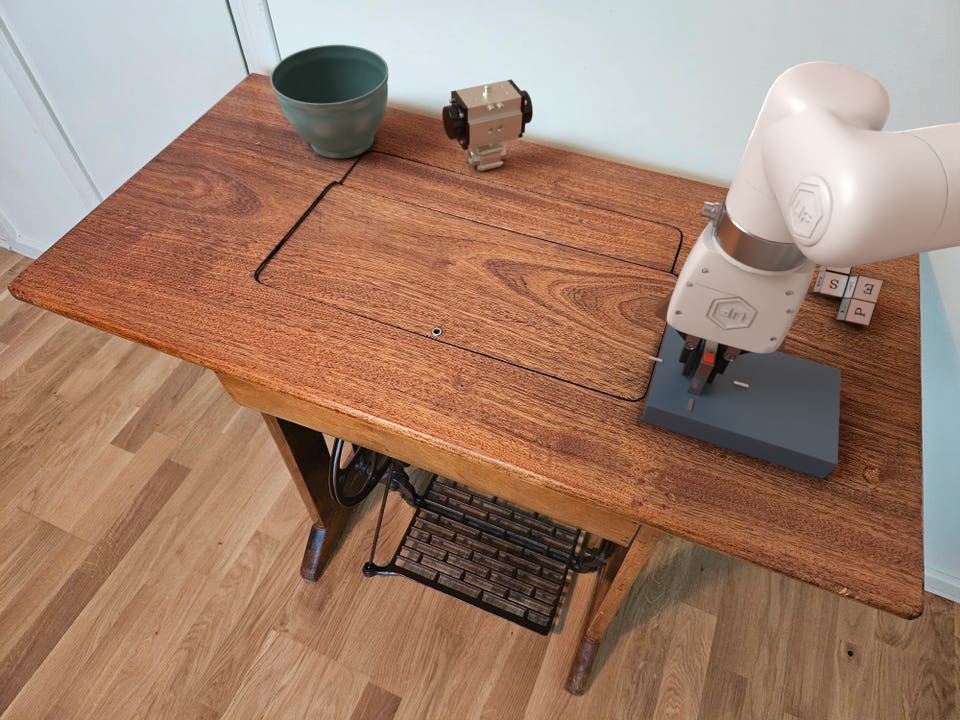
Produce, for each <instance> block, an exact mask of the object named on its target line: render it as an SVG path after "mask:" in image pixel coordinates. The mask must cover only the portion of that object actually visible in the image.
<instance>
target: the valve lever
mask: <svg viewBox="0 0 960 720" xmlns="http://www.w3.org/2000/svg"><path fill="white" fill-rule="evenodd" d="M717 348H718V342H714V341H711V340H707V339H704V338H703V340H702V345H701V349H700V354H699V356H698V358H697V361H696V363H695V365H694V367H693V369H692V371H691V376H690V380H689V385H688V389H687V392H688V393H692V394H695V395H699V394H700V392H701V390H702V388H703V386H704V384H705V382H706V380H707V378H708V376H709V375H710V373H711V371H712V369H713V367H714V363H715V358H716V353H717Z"/></svg>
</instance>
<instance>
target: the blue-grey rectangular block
mask: <svg viewBox="0 0 960 720" xmlns="http://www.w3.org/2000/svg"><path fill="white" fill-rule="evenodd" d="M684 342H685V341H684V340H683V339H682V337H681V336H680V335H679V334H678V332H677V331H676V330H675V329H674V328H673V327H671V326H670V325H669V324H668V323H667V327H666V330H665V332H664V335H663V337H662V341H661V344H660V348H659V352H658V356H657V357H655V356H651V355H649V356H648V360H650V361H654V362H656V364H655V366H654V370H653V374H652V378H651V382H650V386H649V389H648V393H647V397H646V401H645V404H644V407H643V412H642V416H641V419H640V421H641V422H642V423H646V424H648V425H652V426H655V427H659V428H661V429H664V430H668V431H671V432H674V433H678V434H680V435H684V436H687V437H690V438H692V439H695V440H699V441H702V442H705V443H709V444H712V445H716V446H718V447H721V448H724V449H728V450H731V451H734V452H737V453H741V454H743V455H747V456H750V457H753V458H756V459H760V460H762V461H766V462H768V463H772V464H775V465H778V466H782V467H785V468H788V469H791V470H794V471H797V472H800V473H803V474H807V475H808V476H809V475H810V476H813V477H815V478H816V477H817V478H819V479H822V480H824V479H825V478H826V477H827V476H828V475H829V474H830V473H831V472H832V471H833V470H834V469H835V468H836V467H837V466H838V463H839V440H840V439H839V437H840V436H839V435H840V410H841V409H840V408H841V382H842V381H841V377H842V376H841V375H842V369H840V368H837V367H834V366H830V365H827V364H824V363H820V362H816V361H812V360H809V359H805V358H802V357H798V356H794V355H791V354H788V353H783V352H781V351H774V352H772V353H755V352H751V353H747V354H743V355H739V356H738V357H737V359H736V360H734V361H730V362H729V364H728V366H727V368H726V369H725V371H724V373H723V375H722V374H718V373H717V375H716V377H715V379H714V380H713V382H712V384H710V383H706V382H705V384H704V386H703V388H702V390H701V392H700V394H699V395H695V394H692V393H688V392H687V389H688V385H689V380H690V376H691V373H690V375H689V376H687V377H686V376H683V375H682V372H683V367H684V363H681V362H679V358H680V354H681V351H682V348H683V346H684Z"/></svg>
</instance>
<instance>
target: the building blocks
mask: <svg viewBox="0 0 960 720" xmlns="http://www.w3.org/2000/svg"><path fill="white" fill-rule="evenodd" d="M852 270H853V267H845V268H832V267H825V266H821V265H819V268H818V273H817V275H816V279H815V282H814V284H813V287H812V291H811V293H812V294H814V295H815V294H817V295H820V296H824V297H830V298H834V299H839V300H841V303H840V307H839V310H838V313H837V317H836V319H835V320H836V321H840V322H844V323H848V324H854V325H858V326H865V327H866V326H867V327H870V326H871V323H872V320H873V317H874V314H875V311H876V307H877V304H878V301H879V298H880V294H881V292H882V289H883V286H884V282H885V279H883V278H880V277H879V278H878V277H874V276H868V275H864V274H852Z"/></svg>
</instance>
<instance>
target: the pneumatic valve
mask: <svg viewBox="0 0 960 720" xmlns="http://www.w3.org/2000/svg"><path fill="white" fill-rule="evenodd" d="M448 101H449V103H450V104H449V105H444V106H443V107H442V112H441V113H442V114H441V116H442V124H443V128H444V132H445V134H446V136H447V138H448V139H449V140H451V141H452V140H453V141H454V140H456V141H457V142H458V144H459V145H460V147H461V148H462V150H463V151H467V152H466V155H467V161H468V163H469V165H471V167H473V166H476V169H477V171H479V172H484V171H488V170H489V171H490V170H493V169H497V168H500V167H502V166H503V164H504V161H503V160H504V159H506V157H507V148H506V145H505V143H504V142H508V141H512V140H516V139H521V138H523V136H524V135H523V134H525V132H526V125H527V124H530V123H531V122H532V120H533V116H534V109H533V102H532V98H531V96H530V94H529V92H528V91H527V90H525V89H523V90H521V89H520V87H519V86H518V85H517V84H516V83H515V82H514V80H512V79H507V80H502V81H497V82H491V83H486V84H481V85H476V86H470V87H467V88H462V89H456V90H451V91H450V98H449V100H448Z"/></svg>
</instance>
